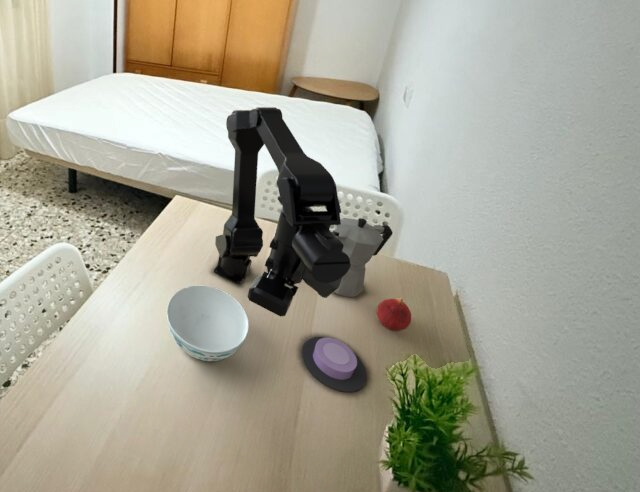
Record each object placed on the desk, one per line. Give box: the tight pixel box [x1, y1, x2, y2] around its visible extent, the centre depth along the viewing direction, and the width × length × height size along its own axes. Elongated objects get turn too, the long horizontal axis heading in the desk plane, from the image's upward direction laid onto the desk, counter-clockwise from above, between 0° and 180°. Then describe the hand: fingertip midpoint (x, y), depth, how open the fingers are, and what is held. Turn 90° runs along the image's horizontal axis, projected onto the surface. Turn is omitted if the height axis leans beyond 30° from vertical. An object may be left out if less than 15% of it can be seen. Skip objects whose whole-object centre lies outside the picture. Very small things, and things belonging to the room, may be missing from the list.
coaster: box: [301, 336, 368, 393], centre depth 75 cm, size 11×11×1 cm
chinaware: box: [166, 284, 250, 362], centre depth 76 cm, size 15×15×8 cm
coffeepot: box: [331, 217, 393, 298], centre depth 90 cm, size 15×9×18 cm, turn 101°
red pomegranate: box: [376, 296, 412, 332], centre depth 81 cm, size 6×6×8 cm
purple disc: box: [313, 337, 357, 380], centre depth 74 cm, size 7×7×2 cm
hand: (274, 304), depth 74 cm, fingers closed
